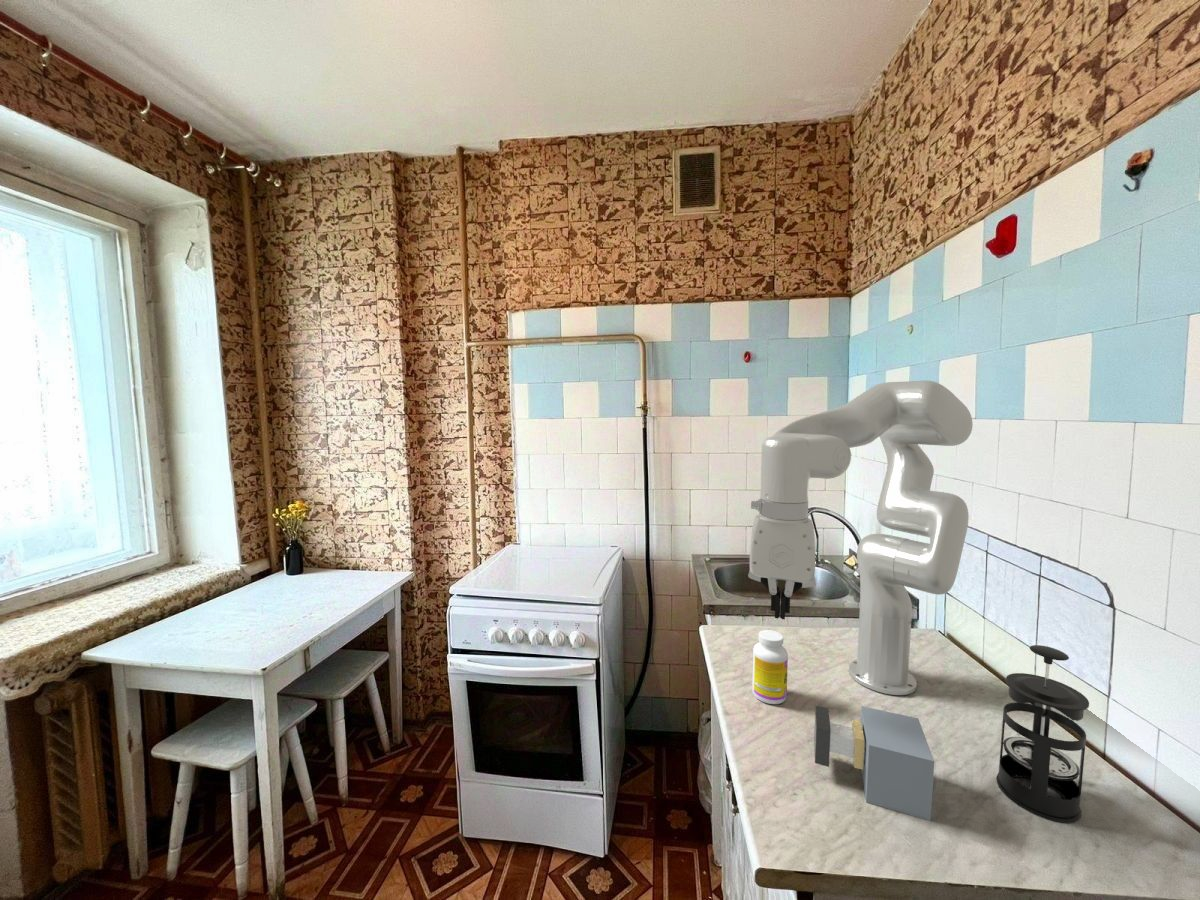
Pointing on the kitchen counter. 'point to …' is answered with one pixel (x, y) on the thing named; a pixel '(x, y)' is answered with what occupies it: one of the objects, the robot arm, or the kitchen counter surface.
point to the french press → (1043, 744)
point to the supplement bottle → (770, 668)
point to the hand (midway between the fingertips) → (780, 615)
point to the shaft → (837, 739)
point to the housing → (897, 763)
